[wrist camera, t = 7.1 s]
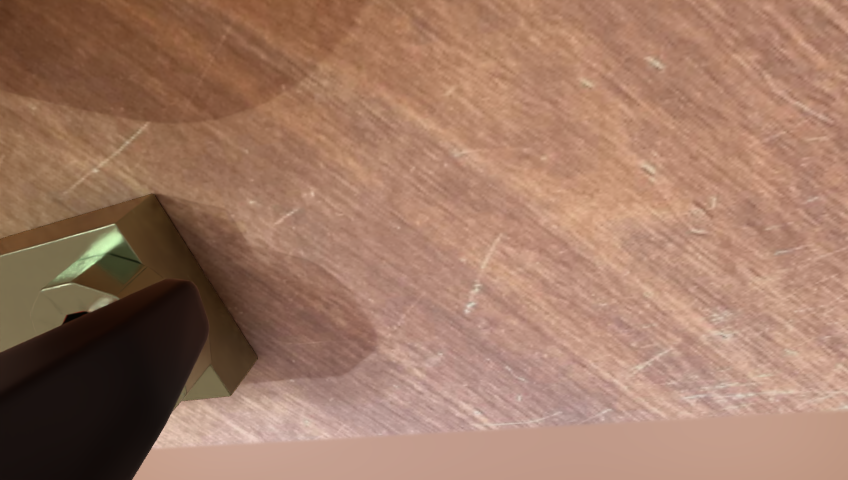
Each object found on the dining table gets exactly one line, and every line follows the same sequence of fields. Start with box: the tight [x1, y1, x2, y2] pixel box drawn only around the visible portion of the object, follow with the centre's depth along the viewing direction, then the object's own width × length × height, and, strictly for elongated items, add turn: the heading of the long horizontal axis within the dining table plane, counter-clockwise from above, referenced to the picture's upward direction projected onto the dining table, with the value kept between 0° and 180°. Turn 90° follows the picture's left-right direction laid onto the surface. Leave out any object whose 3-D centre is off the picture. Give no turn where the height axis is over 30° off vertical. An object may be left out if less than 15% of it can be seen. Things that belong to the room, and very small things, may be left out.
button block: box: [0, 194, 258, 410], centre depth 29 cm, size 19×8×4 cm, turn 113°
